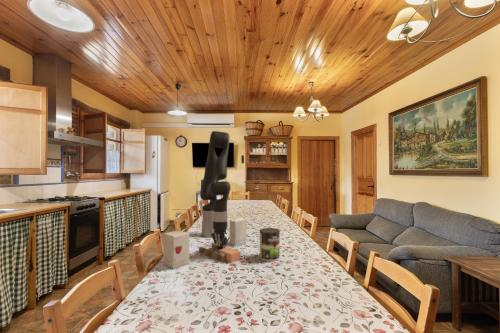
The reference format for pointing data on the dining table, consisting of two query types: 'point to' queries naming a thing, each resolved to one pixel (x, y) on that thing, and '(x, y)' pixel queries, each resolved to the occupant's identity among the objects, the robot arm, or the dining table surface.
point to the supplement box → (176, 249)
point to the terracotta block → (230, 254)
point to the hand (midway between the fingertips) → (220, 252)
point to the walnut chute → (213, 252)
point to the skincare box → (237, 232)
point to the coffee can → (269, 244)
